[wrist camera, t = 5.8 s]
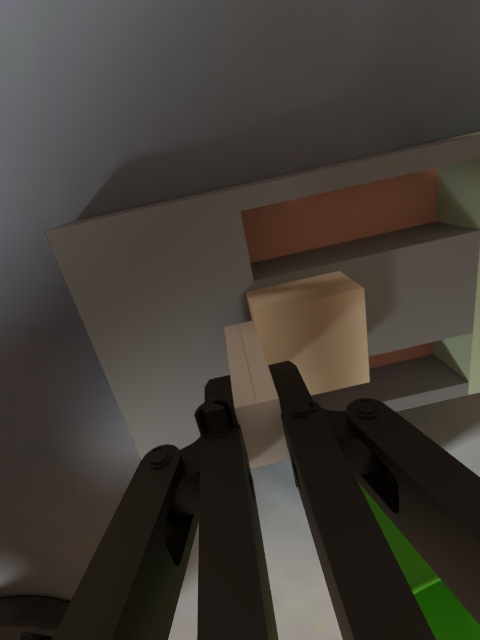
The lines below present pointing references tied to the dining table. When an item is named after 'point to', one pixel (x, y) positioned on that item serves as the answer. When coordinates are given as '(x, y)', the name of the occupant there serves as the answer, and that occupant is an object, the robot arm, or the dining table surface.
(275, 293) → the block
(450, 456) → the robot arm
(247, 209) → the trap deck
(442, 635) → the cup
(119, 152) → the dining table surface
